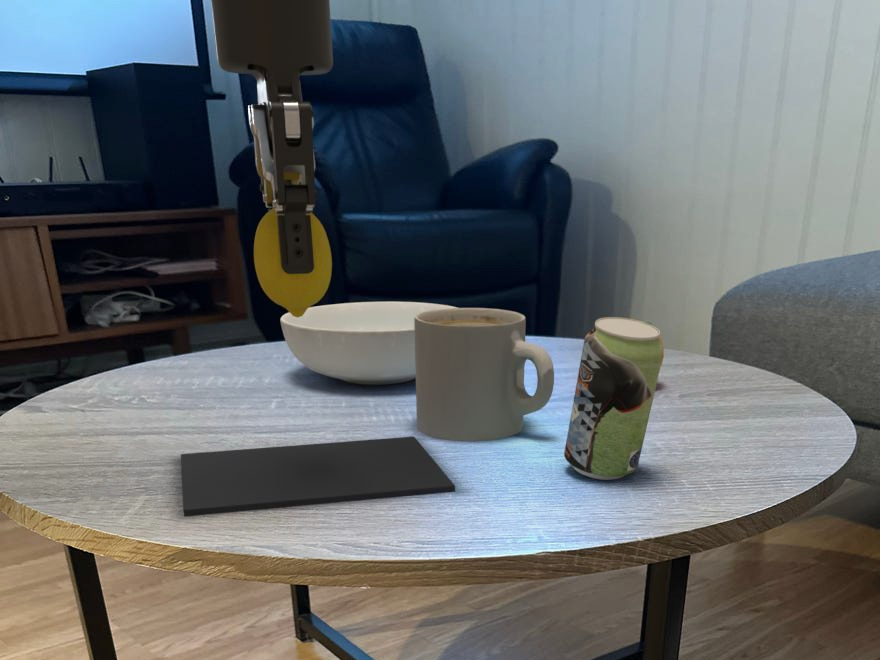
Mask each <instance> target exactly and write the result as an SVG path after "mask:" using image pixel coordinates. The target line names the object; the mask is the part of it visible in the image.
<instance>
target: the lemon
mask: <svg viewBox="0 0 880 660" xmlns="http://www.w3.org/2000/svg"><path fill="white" fill-rule="evenodd" d="M270 209H271V210H270V211H269V212H268V211H267V212H266V213H265V215H263V216H262V218H261V220H260V221H259V223H258V224H257V228H256V231H255V236H254V243H253V263H254V269H255V273H256V276H257V280H258V283H259V285H260V287H261V288H262V291H263V292H264V293H265V295H266V296H267V297H268V299H270V300H271V301H272V302H274V304H276V305H279V306H281V307H283V308H284V309H286V310H287V311H288V313H289V312H290V313H291V314H292V315H293V316H294V317H301V316H303V314H304V313H305V312H306V310H307V309H308V308H310V307H313V306H314V305H315V304H318V302H320V301H321V300H322V298H323V297H324V296H325V295H326V292H327V291H328V288H329V286H330V282H331V278H332V272H333V271H332V270H333V269H332V268H333V261H332V259H333V258H332V251H331V245H330V242H329V239H328V236H327V232H326V230H325V228H324V225H323V224H322V223H321V220H319V219H318V218H317V216H315V214H314V213H313V212H312V213H309V214H306V215H310V217H311V231H312V244H313V258H314V269H313V271H312V272H311V273H307V274H287V273H285V272H284V271H283V269H282V267H281V259H280V248H279V236H278V225H277V215H283V214H276V212H275V208H270Z"/></svg>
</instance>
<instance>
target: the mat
mask: <svg viewBox="0 0 880 660" xmlns="http://www.w3.org/2000/svg"><path fill="white" fill-rule="evenodd" d="M180 465H181V466H180V468H181V487H182V488H181V489H182V509H183V510H182V511H183V516H184V517H195V516H205V515H207V516H208V515H215V514H228V513H238V512H247V511H260V510H268V509H281V508H291V507H293V508H294V507H305V506H315V505H325V504H336V503H347V502H358V501H367V500H379V499H391V498H400V497H411V496H421V495H423V496H424V495H434V494H444V493H454V492H456V485H455V484H454V483H453V482H452V480H451V479H450V477H448V476H447V474H446V473H445V471H443V469H442V468H441V467H440V466H439V465H438V463H437V462H436V461H435V460H434V459H433V457H432V456H431V455H430V454H429V452H428V451H427V450H426V449H425V447H424V446H422V444H421V443H420V442H419V440H418V439H417V438H416V437H415V436H402V437H389V438H387V437H386V438H374V439H363V440H362V439H361V440H350V441H336V442H323V443H310V444H297V445H296V444H295V445H283V446H271V447H268V446H267V447H258V448H257V447H256V448H243V449H231V450H230V449H229V450H216V451H205V452H204V451H203V452H189V453H180Z"/></svg>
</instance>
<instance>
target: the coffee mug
mask: <svg viewBox="0 0 880 660" xmlns="http://www.w3.org/2000/svg"><path fill="white" fill-rule="evenodd" d="M526 319H527V318H526V316H525V315H524V314H522V313H520V312H517V311H512V310H508V309H507V310H506V309H499V308H487V307H457V308H448V309H438V310H430V311H425V312H421V313H419V314H417V315H416V316H415V318H414V330H415V369H416V378H415V396H416V397H415V405H416V429H417V431H418V432H419V433H421V434H423V435H425V436H428V437H431V438H435V439H438V440H444V441H452V442H487V441H489V442H490V441H495V440H501V439H506V438H510V437H513V436H516V435H518V434H519V433H520V432H521V431H522V430H523V428H524V416H526V415H530V414H532V413H536V412H538V411H540V410H541V409H543V408H544V407H545V406H547V404H548V403H549V401H550V399H551V397H552V395H553V392H554V391H553V390H554V385H555V368H554V363H553V360H552V357H551V356H550V354H549V352H548V351H547V350H546V349H545V348H544V347H542V346H540V345H538V344H535V343H532V342H527V341H526V329H527V328H526V325H527V324H526V323H527V321H526ZM527 361H531V363H532V364H533V365H534V367H535V370H536V378H537V380H536V381H537V383H536V388H535V392H534V394H533V395H530V394H529V393H528V392H527V390H526V387H525V365H526V362H527Z"/></svg>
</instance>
